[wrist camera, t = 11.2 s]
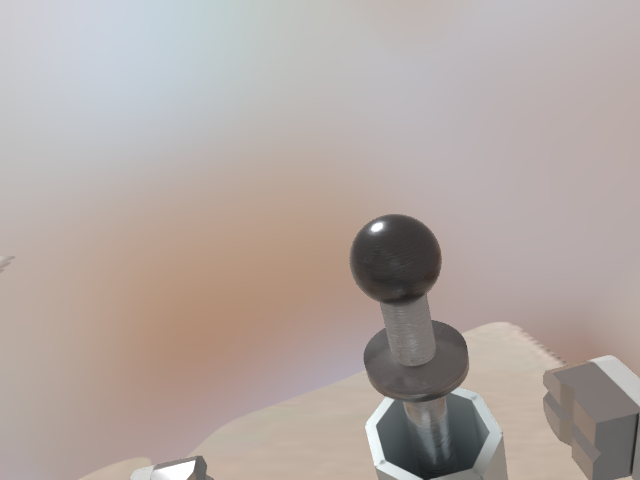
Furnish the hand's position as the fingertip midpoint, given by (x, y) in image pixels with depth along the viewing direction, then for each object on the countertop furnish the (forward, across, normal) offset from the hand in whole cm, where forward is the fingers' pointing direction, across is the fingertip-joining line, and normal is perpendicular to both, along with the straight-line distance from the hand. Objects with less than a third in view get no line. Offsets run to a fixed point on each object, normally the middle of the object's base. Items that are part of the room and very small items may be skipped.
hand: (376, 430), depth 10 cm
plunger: (+13, -4, +26) cm, 29 cm away
